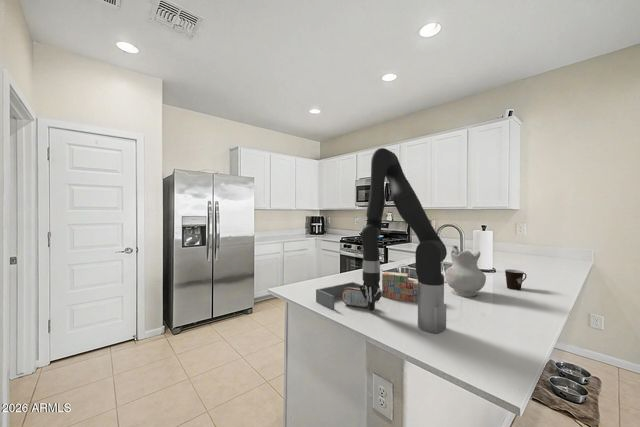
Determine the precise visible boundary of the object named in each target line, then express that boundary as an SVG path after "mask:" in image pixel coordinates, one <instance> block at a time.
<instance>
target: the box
mask: <svg viewBox="0 0 640 427" xmlns="http://www.w3.org/2000/svg"><path fill="white" fill-rule="evenodd" d="M362 285H363V284H360V283H357V282H354V281H351V282H346V283H342V284H337V285H332V286H327V287H322V288H316V289H315V302H316V303H317V304H320V305H322V306H323V307H326V308H328V309H330V310H333V311H334V310H335V299H337V298H341V294H342V291H343V290H344V289H345V288H346V287H357V288H359V287H360V286H362Z"/></svg>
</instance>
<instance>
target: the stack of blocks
mask: <svg viewBox="0 0 640 427" xmlns="http://www.w3.org/2000/svg"><path fill="white" fill-rule="evenodd" d="M381 279H382V281H381V282H382V283H381V284H382V285H381V286H382V288H381V289H382V290H381V291H384V294H383V295H382V297H381V298H386V299H390V300H391V299H392V300H397V301H398V300H400V301H408V302H415V303H418V279H417V280H415V279H409V273H406V272H405V273H404V272H393V271H392V272H391V271H384V272H382V273H381Z"/></svg>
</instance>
